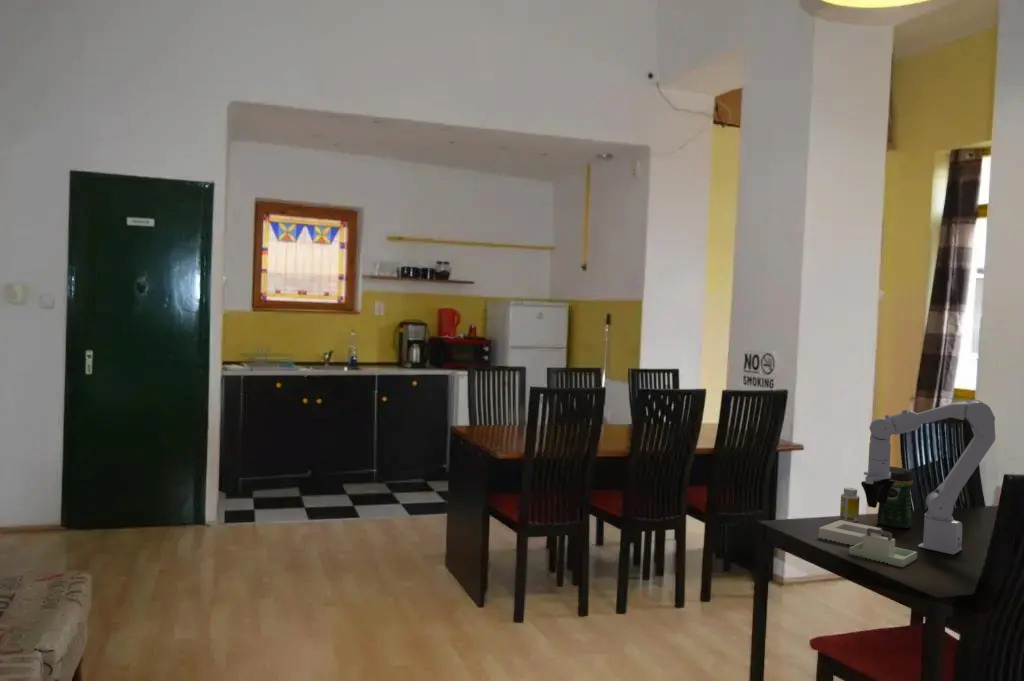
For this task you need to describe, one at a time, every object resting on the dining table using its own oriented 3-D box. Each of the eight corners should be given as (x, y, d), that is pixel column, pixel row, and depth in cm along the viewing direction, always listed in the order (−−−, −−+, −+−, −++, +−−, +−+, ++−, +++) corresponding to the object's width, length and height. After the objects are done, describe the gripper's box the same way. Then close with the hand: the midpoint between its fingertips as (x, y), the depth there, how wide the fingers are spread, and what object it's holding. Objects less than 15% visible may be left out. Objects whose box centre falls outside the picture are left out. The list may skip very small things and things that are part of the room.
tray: (916, 559, 219) (917, 551, 219) (902, 567, 211) (902, 559, 211) (864, 547, 229) (865, 540, 229) (848, 554, 221) (849, 547, 221)
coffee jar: (914, 526, 255) (917, 468, 255) (904, 530, 250) (908, 471, 249) (883, 520, 262) (886, 463, 261) (873, 524, 257) (876, 466, 256)
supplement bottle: (861, 520, 260) (863, 489, 260) (853, 523, 257) (854, 491, 256) (845, 517, 265) (846, 486, 264) (836, 519, 261) (838, 488, 261)
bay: (881, 538, 240) (881, 528, 239) (861, 547, 229) (861, 537, 229) (839, 529, 248) (840, 519, 248) (818, 537, 238) (819, 527, 237)
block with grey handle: (894, 555, 220) (895, 531, 220) (888, 558, 217) (890, 534, 217) (868, 549, 225) (869, 526, 225) (862, 552, 222) (863, 528, 222)
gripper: (874, 454, 244) (872, 499, 245) (855, 459, 234) (853, 506, 235) (899, 458, 239) (896, 503, 240) (880, 463, 229) (878, 510, 230)
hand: (877, 505), depth 237 cm, fingers open, 7 cm apart
